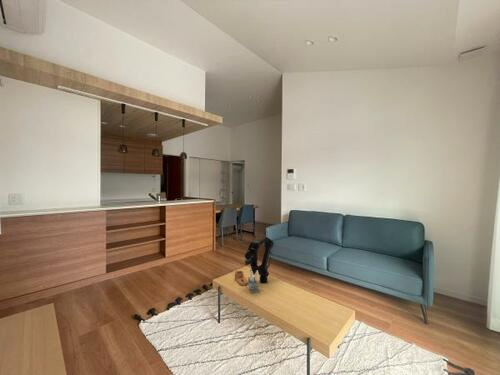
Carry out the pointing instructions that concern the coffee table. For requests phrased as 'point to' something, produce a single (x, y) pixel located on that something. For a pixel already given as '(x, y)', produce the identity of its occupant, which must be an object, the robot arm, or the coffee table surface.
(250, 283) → the vise
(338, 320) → the coffee table surface
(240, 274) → the bracket
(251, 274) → the wood-topped grey block
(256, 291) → the mat
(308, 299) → the coffee table surface
